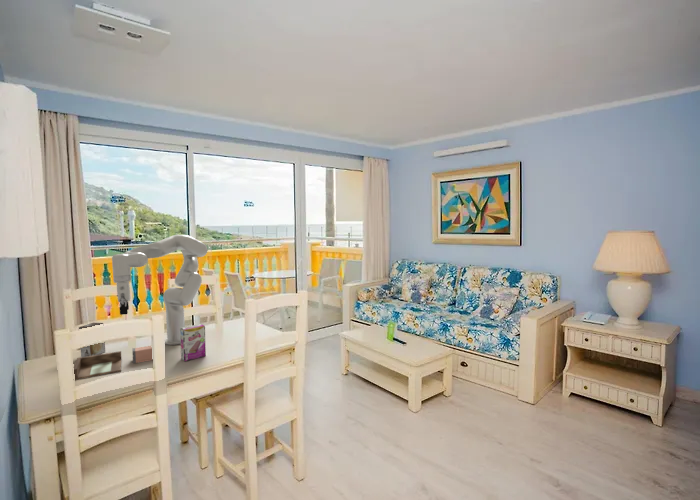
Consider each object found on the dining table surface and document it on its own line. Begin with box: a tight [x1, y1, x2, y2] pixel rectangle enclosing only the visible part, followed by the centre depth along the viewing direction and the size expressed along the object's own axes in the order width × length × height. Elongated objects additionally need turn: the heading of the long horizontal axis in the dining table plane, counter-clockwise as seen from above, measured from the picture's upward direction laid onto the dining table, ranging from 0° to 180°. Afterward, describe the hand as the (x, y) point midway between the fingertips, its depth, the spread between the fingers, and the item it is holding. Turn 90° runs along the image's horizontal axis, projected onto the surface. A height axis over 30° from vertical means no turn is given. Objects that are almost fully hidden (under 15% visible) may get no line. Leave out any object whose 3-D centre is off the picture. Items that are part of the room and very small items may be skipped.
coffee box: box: [78, 322, 106, 358], centre depth 196 cm, size 9×6×16 cm
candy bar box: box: [180, 323, 207, 362], centre depth 191 cm, size 11×5×16 cm, turn 134°
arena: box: [73, 350, 123, 381], centre depth 177 cm, size 18×16×5 cm
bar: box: [132, 345, 153, 364], centre depth 189 cm, size 10×5×6 cm, turn 120°
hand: (124, 312), depth 189 cm, fingers open, 9 cm apart
